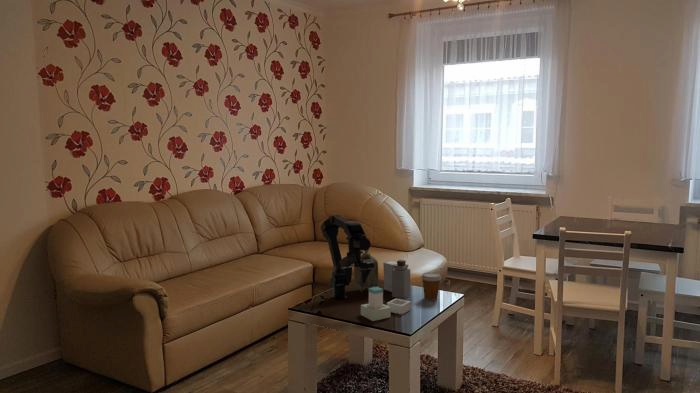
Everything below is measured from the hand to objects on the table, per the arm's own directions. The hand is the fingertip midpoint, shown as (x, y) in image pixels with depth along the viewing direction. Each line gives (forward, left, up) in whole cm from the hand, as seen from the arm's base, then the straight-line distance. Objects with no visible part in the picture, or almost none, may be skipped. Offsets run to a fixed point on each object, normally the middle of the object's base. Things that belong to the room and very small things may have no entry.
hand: (356, 283), depth 236 cm
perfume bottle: (-9, +28, -12) cm, 32 cm away
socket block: (+14, +4, -12) cm, 18 cm away
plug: (+14, +4, -12) cm, 18 cm away
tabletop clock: (-22, +14, -12) cm, 29 cm away
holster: (+11, +17, -12) cm, 23 cm away
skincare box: (-19, +28, -12) cm, 36 cm away
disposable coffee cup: (0, +40, -12) cm, 41 cm away
